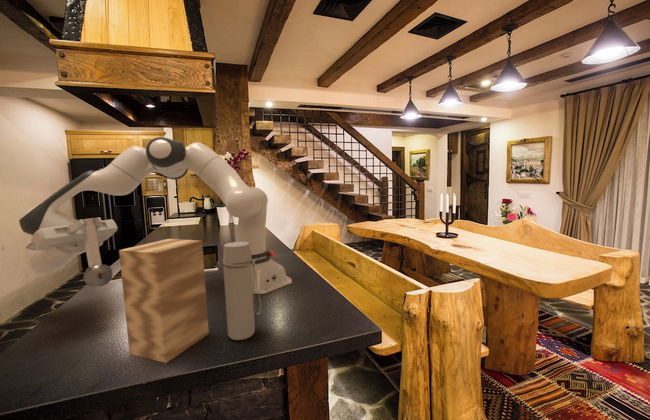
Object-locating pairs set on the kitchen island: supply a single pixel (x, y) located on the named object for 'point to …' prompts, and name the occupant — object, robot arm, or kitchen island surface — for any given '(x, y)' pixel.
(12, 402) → the kitchen island surface
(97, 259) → the ratchet wrench
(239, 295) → the water bottle
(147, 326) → the wooden block
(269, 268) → the robot arm
